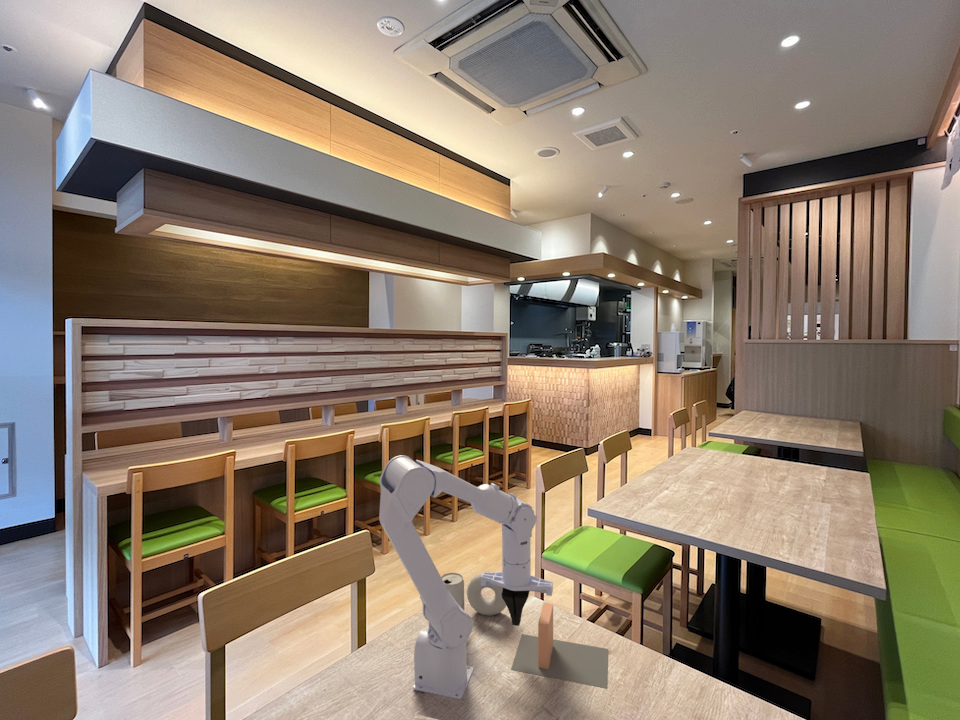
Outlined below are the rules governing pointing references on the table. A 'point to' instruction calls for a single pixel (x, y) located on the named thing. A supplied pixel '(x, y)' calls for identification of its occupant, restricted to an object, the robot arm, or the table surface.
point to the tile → (545, 636)
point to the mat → (564, 661)
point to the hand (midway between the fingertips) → (516, 622)
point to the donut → (480, 602)
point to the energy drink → (455, 587)
